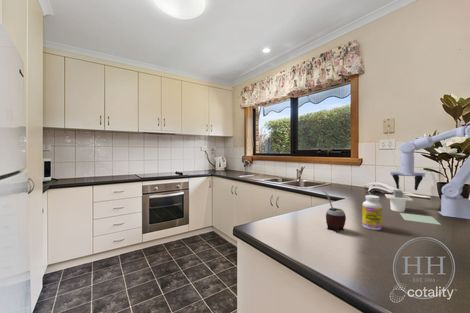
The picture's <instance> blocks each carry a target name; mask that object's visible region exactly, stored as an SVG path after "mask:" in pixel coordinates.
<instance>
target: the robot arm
mask: <svg viewBox="0 0 470 313" xmlns="http://www.w3.org/2000/svg"><path fill="white" fill-rule="evenodd" d="M466 136H467V137H468V138H469V139H470V124H469V125H464V126H463V125H462V126H459V127H455V128H452V129H449V130H447V131H444V132H441V133H438V134H435V135H433V136H428V135H420V137H418V138H414V139H409V141H404V142H402V143H401V144H400V145H399V150H400V160H399V163H400V167H399V168H400V171H389V175H390V176H392V178H393V180H394V182H395V185H396V190H400V177H401V176H402V177H414V191H418V188H419V185H420V184H421V182H422V180H423V178H425V177H426V173H425V172H415V151H419V150H423V149H427V148H430V147H433V145H434V143H437V142H440V141H441V142H442V141H445V140H448V139H451V138H455V137H459V138H460V137H462V138H466ZM399 176H400V177H399ZM469 179H470V155H469V156H468V157H467V158H466V160H465V161H464V163H463V164H462V165H461V167H460V168H459V169H458V171H457V172H456V173H455V174H454V176H453V177H452V178H451V180H450V181H449V182H448V183H446V184H444V185H443V186H442V187H441V193H442V194H441V196H440V197H441V198H440V199H441V201H440V211H437V213H439V214H440V215H441V216H444V217H451V218H452V217H453V218H460V219H467V220H468V219H469V220H470V199H469V198H464V196H462V193H463V188H464V186H465V184H466V183H467V181H468V180H469Z"/></svg>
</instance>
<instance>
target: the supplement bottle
mask: <svg viewBox="0 0 470 313" xmlns="http://www.w3.org/2000/svg"><path fill="white" fill-rule="evenodd" d="M379 201H380V196H378V195H371V194H367V195H365V201H363V202H362V213H361V214H362V216H361V218H362V220H361V222H362V227H363V228H364V229H368V230H372V231H381V229H382V226H383V224H382V222H383V218H382V217H383V204H382V203H381V202H379Z"/></svg>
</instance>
